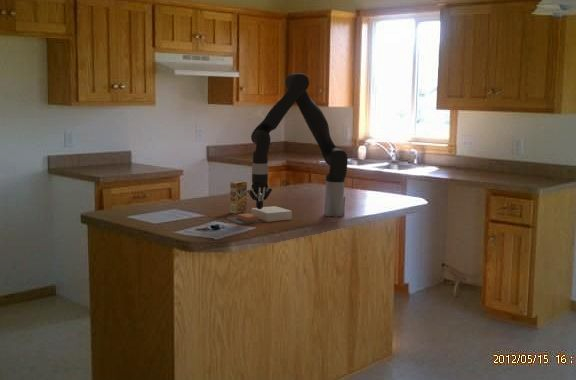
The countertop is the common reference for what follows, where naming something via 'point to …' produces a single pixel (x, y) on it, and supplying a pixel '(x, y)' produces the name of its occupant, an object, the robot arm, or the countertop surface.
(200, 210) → the countertop surface
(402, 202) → the countertop surface
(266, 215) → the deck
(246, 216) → the block
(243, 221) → the mat
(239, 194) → the candy box
